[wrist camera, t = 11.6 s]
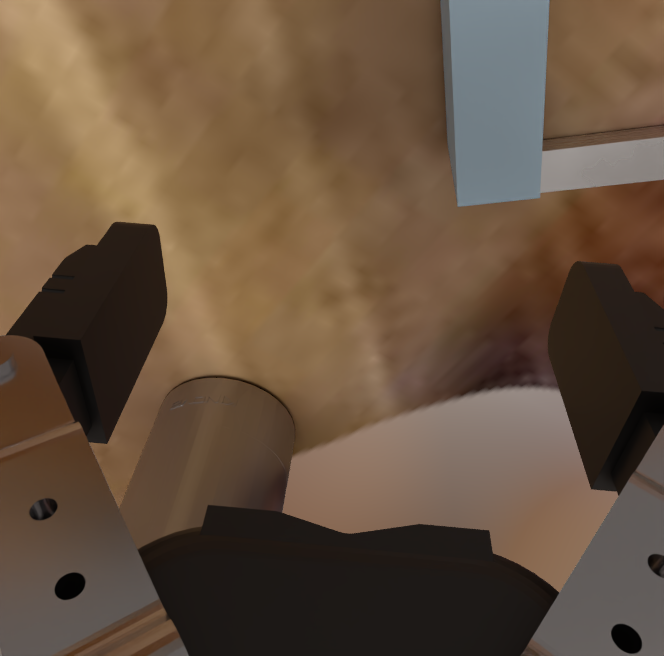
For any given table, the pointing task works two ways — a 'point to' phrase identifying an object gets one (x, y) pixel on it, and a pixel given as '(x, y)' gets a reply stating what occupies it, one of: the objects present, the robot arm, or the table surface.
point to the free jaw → (495, 97)
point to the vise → (603, 159)
